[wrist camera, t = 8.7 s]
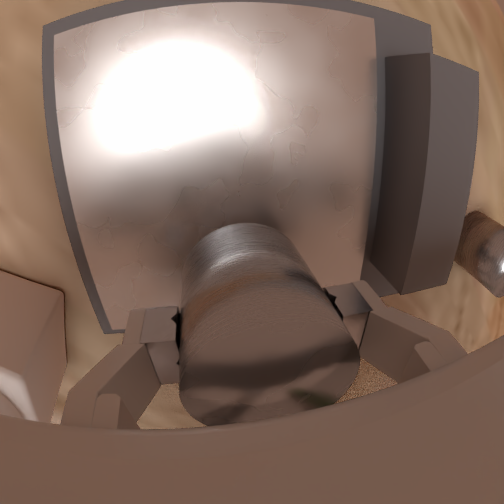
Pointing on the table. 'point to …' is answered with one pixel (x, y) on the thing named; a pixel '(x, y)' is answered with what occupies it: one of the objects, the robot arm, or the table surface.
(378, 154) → the scale
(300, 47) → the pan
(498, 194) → the table surface
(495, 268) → the cylinder
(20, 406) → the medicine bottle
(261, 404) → the cylinder
